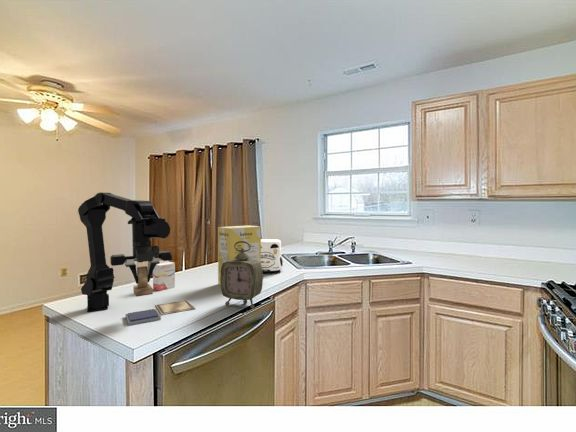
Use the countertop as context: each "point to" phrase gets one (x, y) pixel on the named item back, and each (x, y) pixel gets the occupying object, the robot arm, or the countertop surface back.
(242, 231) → the pasta box
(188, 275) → the countertop surface
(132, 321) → the ink pad
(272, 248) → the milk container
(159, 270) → the ink cartridge box
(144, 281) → the stamp
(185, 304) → the marked card
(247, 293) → the tabletop clock
